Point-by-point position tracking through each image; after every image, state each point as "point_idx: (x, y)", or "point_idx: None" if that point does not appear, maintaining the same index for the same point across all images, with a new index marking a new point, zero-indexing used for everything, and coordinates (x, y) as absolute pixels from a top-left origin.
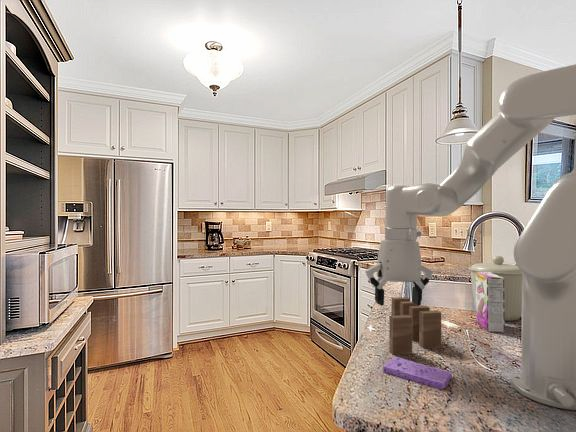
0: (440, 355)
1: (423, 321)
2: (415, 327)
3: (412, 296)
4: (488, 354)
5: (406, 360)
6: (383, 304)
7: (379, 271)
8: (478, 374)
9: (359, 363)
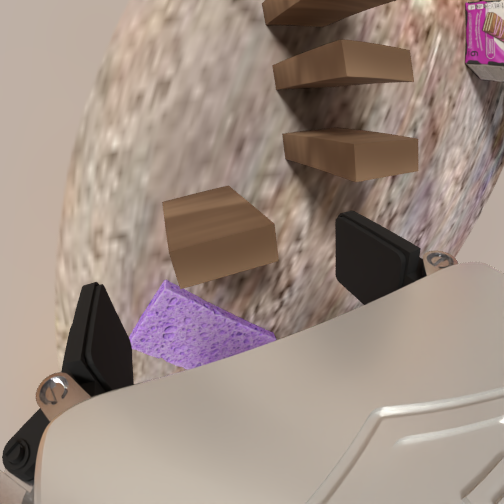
0: (309, 213)
1: (334, 174)
2: (310, 84)
3: (357, 234)
4: (409, 197)
5: (193, 307)
6: (129, 345)
7: (65, 480)
8: (330, 307)
9: (72, 302)
